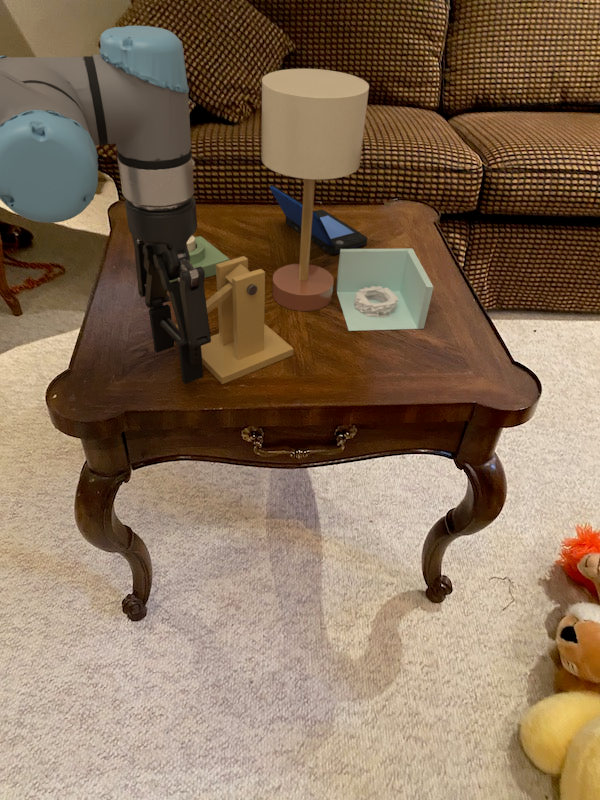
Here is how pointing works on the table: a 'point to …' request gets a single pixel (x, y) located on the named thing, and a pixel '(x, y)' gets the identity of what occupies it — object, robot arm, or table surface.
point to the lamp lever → (211, 302)
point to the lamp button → (191, 244)
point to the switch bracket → (242, 327)
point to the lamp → (310, 158)
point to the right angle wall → (383, 289)
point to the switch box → (205, 257)
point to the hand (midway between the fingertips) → (178, 363)
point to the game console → (320, 225)
